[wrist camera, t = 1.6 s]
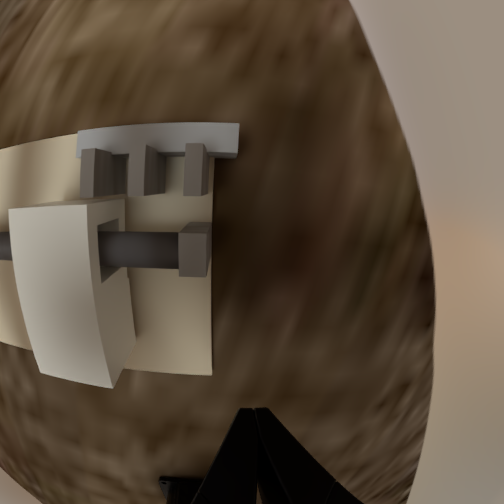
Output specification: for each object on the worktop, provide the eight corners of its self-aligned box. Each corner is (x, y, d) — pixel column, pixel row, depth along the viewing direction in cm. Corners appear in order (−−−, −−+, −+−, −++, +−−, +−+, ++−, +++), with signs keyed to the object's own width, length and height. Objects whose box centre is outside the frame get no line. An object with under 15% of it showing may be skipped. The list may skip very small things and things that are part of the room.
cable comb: (237, 128, 13) (242, 100, 8) (229, 370, 15) (231, 426, 11) (-63, 172, 10) (-98, 175, 6) (-45, 321, 13) (-73, 342, 9)
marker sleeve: (126, 198, 12) (86, 204, 8) (136, 342, 14) (113, 388, 10) (57, 200, 12) (8, 208, 8) (73, 334, 13) (40, 372, 9)
